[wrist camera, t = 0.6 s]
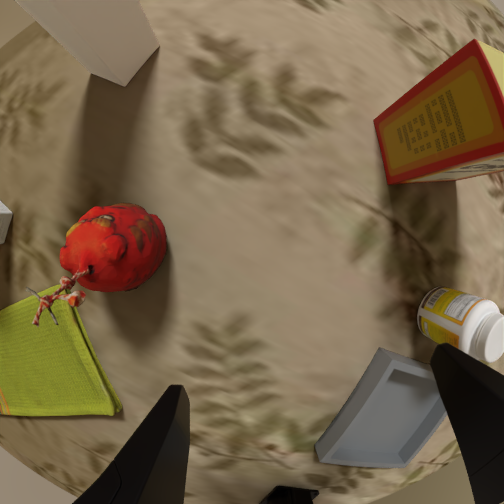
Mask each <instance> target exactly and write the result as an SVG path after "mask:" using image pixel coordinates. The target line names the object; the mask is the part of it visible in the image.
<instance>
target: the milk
mask: <svg viewBox="0 0 504 504" xmlns="http://www.w3.org/2000/svg"><path fill="white" fill-rule="evenodd" d="M14 1H16V2H17V3H18V4H19V5H20V6H21V7H22V8H23V9H24V10H25V11H26V12H27V13H28V14H30V15H31V16H32V17H33V18H34V19H35V20H36V21H37V22H38V23H39V24H40V25H41V26H42V27H43V28H44V29H45V30H46V31H47V32H48V33H49V34H51V35H52V36H53V37H54V38H55V39H56V40H57V41H58V42H59V43H60V44H61V45H62V46H63V47H64V48H65V49H66V50H67V51H68V52H69V53H70V54H71V55H72V56H73V57H74V58H75V59H77V60H78V61H79V62H80V63H81V64H82V65H83V66H84V67H85V68H86V69H87V70H88V71H89V72H90V73H92V74H94V75H97V76H99V77H102V78H104V79H107V80H109V81H112V82H114V83H117V84H119V85H121V86H124V87H125V86H126V85H127V84H128V83H129V81H130V80H131V79H132V78H133V76H134V75H135V74H136V73H137V71H138V70H139V69H140V68H141V67H142V65H143V64H144V63H145V62H146V61H147V59H148V58H149V57H150V56H151V55H152V54H153V53H154V52H155V50H156V49H157V48H158V47H159V46H160V44H159V42H158V40H157V38H156V36H155V34H154V31H153V29H152V27H151V25H150V23H149V21H148V19H147V17H146V15H145V13H144V11H143V8H142V6H141V4H140V2H139V0H14Z"/></svg>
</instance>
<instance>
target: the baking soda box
mask: <svg viewBox="0 0 504 504" xmlns="http://www.w3.org/2000/svg"><path fill="white" fill-rule="evenodd" d="M373 121H374V125H375V129H376V133H377V137H378V141H379V145H380V149H381V154H382V158H383V163H384V168H385V173H386V178H387V184H388V185H394V184H407V183H422V182H440V181H457V180H462V179H467V178H471V177H476V176H481V175H486V174H492V173H497V172H502V171H504V53H502V52H500V51H499V50H497V49H495V48H493V47H491V46H489V45H487V44H485V43H482V42H480V41H478V40H476V39H473V40H472V41H471V42H469V43H468V44H467V45H465V46H464V47H463V48H462V49H460V50H459V51H458V52H456V53H455V54H454V55H453V56H451V57H450V58H449V59H448V60H446V61H445V62H444V63H443V64H441V65H440V66H439V67H438V68H436V69H435V70H434V71H433V72H431V73H430V74H429V75H428V76H426V77H425V78H424V79H423V80H421V81H420V82H419V83H418V84H416V85H415V86H414V87H413V88H412V89H410V90H409V91H408V92H407V93H405V94H404V95H403V96H402V97H401V98H399V99H398V100H397V101H396V102H395V103H393V104H392V105H391V106H390V107H389V108H387V109H386V110H385V111H384V112H382V113H381V114H380V115H379V116H378V117H377V118H375V119H374V120H373Z"/></svg>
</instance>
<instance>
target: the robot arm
mask: <svg viewBox="0 0 504 504" xmlns="http://www.w3.org/2000/svg"><path fill="white" fill-rule="evenodd" d="M430 365H431V368H432V371H433V374H434V378H435V381H436V384H437V387H438V391H439V394H440V397H441V399H442V402H443V405H444V407H445V409H446V412H447V415H448V417H449V420H450V422H451V425H452V428H453V430H454V433H455V436H456V439H457V442H458V445H459V448H460V451H461V454H462V457H463V460H464V463H465V466H466V470H467V473H468V477H469V481H470V484H471V488H472V492H473V496H474V501H475V504H499V503H501V502H503V501H504V375H502V374H500V373H499V372H497V371H495V370H494V369H492V368H490V367H489V366H487V365H485V364H484V363H482V362H480V361H478V360H477V359H475V358H473V357H472V356H470V355H468V354H466V353H465V352H463V351H461V350H459V349H458V348H456V347H454V346H453V345H451V344H449V343H447V342H445V343H441V344H439V345H437V346H436V348H435V351H434V353H433V355H432V357H431V360H430ZM189 446H190V402H189V398H188V395H187V393H186V391H185V388H184V386H183V385H170V386H169V387H168V388H167V390H166V391H165V392H164V394H163V395H162V396H161V398H160V399H159V400H158V402H157V403H156V404H155V406H154V407H153V408H152V410H151V411H150V412H149V414H148V415H147V416H146V418H145V419H144V420H143V422H142V423H141V424H140V425H139V427H138V428H137V429H136V431H135V432H134V433H133V435H132V436H131V437H130V439H129V440H128V441H127V442H126V444H125V445H124V446H123V448H122V449H121V450H120V452H119V453H118V454H117V455H116V457H115V458H114V460H112V462H111V463H110V464H109V466H108V467H107V468H106V469H105V471H104V472H103V473H102V474H101V475H100V477H99V478H98V479H97V480H96V481H95V482H94V483H93V484H92V485H91V486H90V487H89V488H88V489H87V490H86V491H85V492H84V493H83V494H82V495H81V496H80V497H79V498H77V499H76V500H75V501H74V503H72V504H183V503H184V493H185V483H186V473H187V464H188V455H189ZM317 495H319V491H318V490H309V489H300V488H293V487H286V486H276V487H275V488H274V489H273V490H272V491H271V492H270V493H269V494H268V495H267V496H266V497H265V498H264V499H263V500H262V501H261V502H260V503H259V504H313V501H312V500H313V499H314V498H315V497H316V496H317Z"/></svg>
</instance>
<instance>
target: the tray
mask: <svg viewBox="0 0 504 504" xmlns="http://www.w3.org/2000/svg"><path fill="white" fill-rule="evenodd" d="M446 416H447V412H446V409H445V407H444V405H443V402H442V399H441V397H440V394H439V391H438V387H437V384H436V381H435V378H434V374H433V371H432V368H431V365H428V364H425V363H422V362H419V361H417V360H414V359H411V358H408V357H405V356H402V355H399V354H396V353H394V352H391V351H388V350H385V349H383V348H380V347H379V349H378V350H377V352H376V354H375V356H374V358H373V359H372V361H371V363H370V365H369V366H368V368H367V370H366V371H365V373H364V375H363V376H362V378H361V380H360V381H359V383H358V384H357V386H356V387H355V389H354V391H353V392H352V394H351V395H350V397H349V398H348V400H347V401H346V403H345V404H344V406H343V407H342V409H341V410H340V412H339V413H338V414H337V416H336V417H335V419H334V420H333V421H332V423H331V424H330V426H329V427H328V428H327V430H326V431H325V432H324V434H323V435H322V436H321V437H320V439H319V440H318V441H317V443H316V444H315V449H316V452H317V455H318V458H319V461H320V462H323V463H330V464H338V465H348V466H360V467H377V468H405V467H406V466H407V465H408V464H409V463H410V462H411V460H412V459H413V458H414V457H415V456H416V455H417V453H418V452H419V451H420V450H421V449H422V447H423V446H424V445H425V444H426V442H427V441H428V440H429V439H430V437H431V436H432V435H433V433H434V432H435V431H436V429H437V428H438V427H439V425H440V424H441V423H442V421H443V420H444V418H445V417H446Z"/></svg>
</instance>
